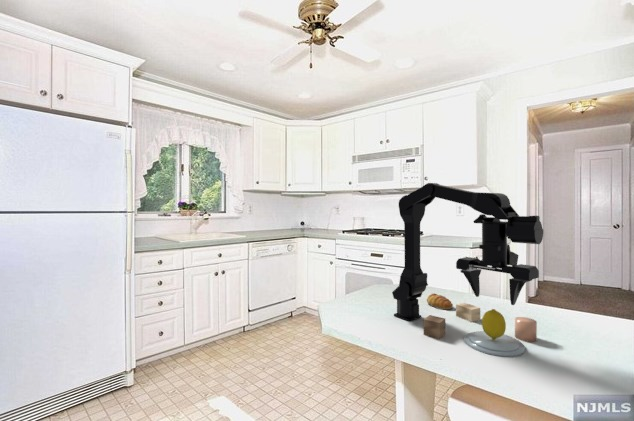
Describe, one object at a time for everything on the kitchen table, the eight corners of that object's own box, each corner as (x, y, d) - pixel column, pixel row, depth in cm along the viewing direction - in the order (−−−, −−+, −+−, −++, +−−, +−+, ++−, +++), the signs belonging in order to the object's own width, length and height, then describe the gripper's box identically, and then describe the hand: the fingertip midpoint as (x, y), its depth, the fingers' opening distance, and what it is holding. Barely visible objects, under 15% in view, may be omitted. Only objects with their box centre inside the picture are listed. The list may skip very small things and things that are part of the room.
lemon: (508, 344, 83) (509, 313, 83) (485, 342, 84) (485, 312, 84) (501, 335, 88) (501, 306, 88) (479, 334, 89) (479, 305, 89)
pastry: (457, 309, 115) (457, 298, 115) (443, 312, 112) (443, 301, 112) (438, 302, 124) (438, 291, 124) (424, 304, 121) (424, 294, 121)
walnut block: (423, 335, 93) (423, 319, 93) (429, 330, 96) (429, 315, 96) (439, 339, 90) (439, 323, 90) (445, 334, 93) (445, 318, 93)
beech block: (455, 316, 108) (455, 304, 107) (464, 314, 109) (464, 302, 109) (471, 322, 102) (471, 309, 102) (480, 320, 104) (480, 307, 104)
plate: (453, 341, 88) (453, 336, 88) (482, 329, 96) (482, 325, 96) (507, 362, 76) (508, 357, 76) (535, 346, 84) (535, 342, 84)
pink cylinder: (511, 337, 90) (511, 319, 90) (520, 333, 93) (520, 315, 93) (531, 343, 86) (531, 324, 86) (539, 339, 89) (540, 320, 89)
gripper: (548, 241, 82) (548, 303, 82) (476, 236, 98) (477, 288, 98) (527, 245, 76) (527, 312, 76) (454, 239, 91) (455, 294, 92)
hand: (494, 300), depth 86 cm, fingers open, 9 cm apart
